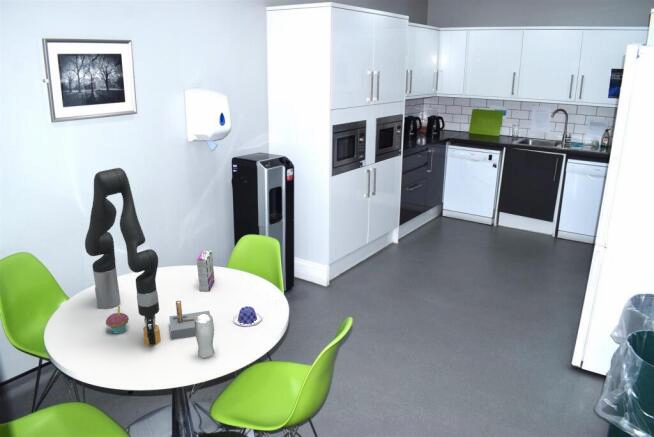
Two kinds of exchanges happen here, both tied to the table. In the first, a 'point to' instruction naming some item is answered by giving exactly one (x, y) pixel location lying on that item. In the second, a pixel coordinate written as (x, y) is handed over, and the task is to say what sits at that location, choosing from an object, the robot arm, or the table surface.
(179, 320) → the wooden post
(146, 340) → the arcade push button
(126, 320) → the cupcake
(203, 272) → the candy bar box
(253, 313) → the pudding
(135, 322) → the table surface
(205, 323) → the beer glass
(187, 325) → the box
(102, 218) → the robot arm
